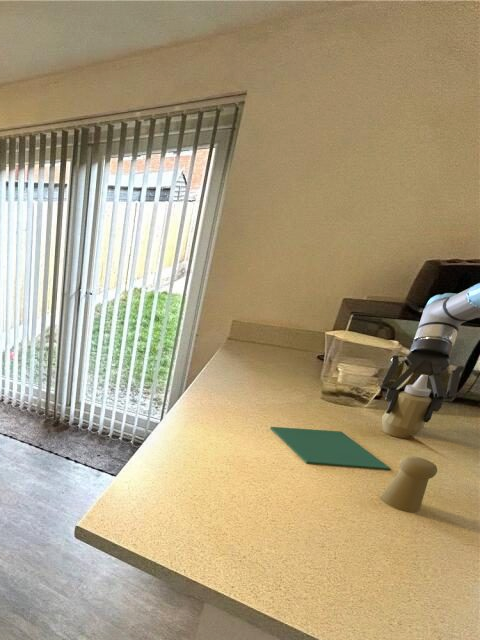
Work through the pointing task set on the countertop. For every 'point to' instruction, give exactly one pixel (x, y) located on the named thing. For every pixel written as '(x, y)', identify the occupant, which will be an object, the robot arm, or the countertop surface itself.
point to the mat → (328, 448)
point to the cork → (409, 484)
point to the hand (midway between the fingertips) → (407, 415)
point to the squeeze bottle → (408, 410)
